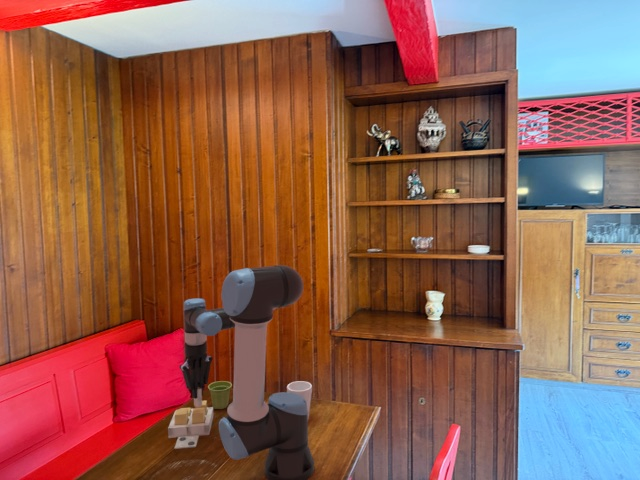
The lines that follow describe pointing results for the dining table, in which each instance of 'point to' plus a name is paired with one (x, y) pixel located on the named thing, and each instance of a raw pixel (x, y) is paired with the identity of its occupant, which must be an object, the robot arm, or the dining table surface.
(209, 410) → the board
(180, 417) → the button near left
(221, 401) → the plant pot
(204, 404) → the button far right
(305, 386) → the foam cup
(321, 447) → the dining table surface
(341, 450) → the dining table surface
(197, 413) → the button near right
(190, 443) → the pattern card
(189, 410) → the tan cube block
